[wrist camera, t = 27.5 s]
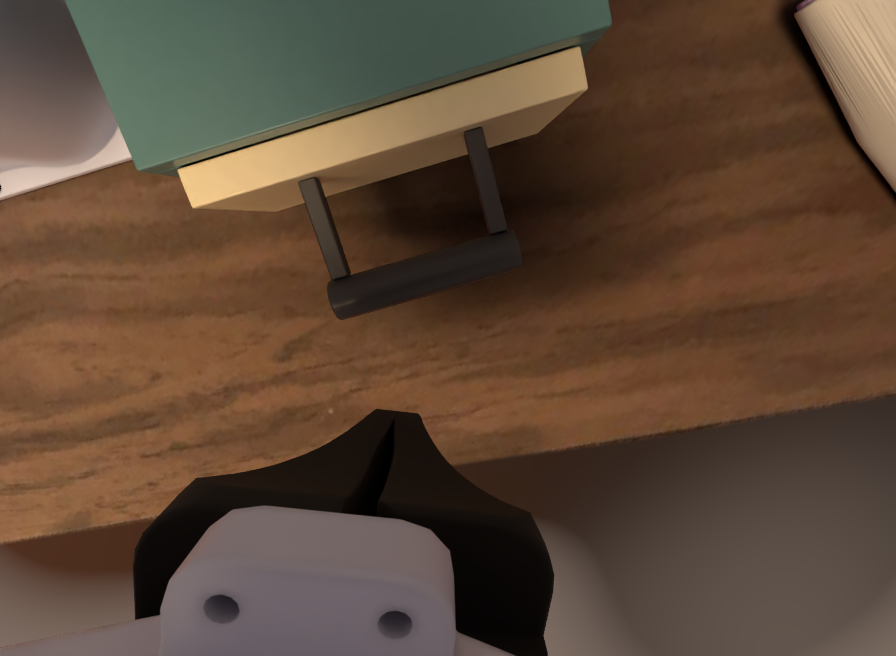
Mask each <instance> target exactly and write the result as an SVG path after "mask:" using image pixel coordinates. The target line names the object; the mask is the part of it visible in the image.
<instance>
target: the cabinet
mask: <svg viewBox="0 0 896 656" xmlns="http://www.w3.org/2000/svg"><path fill="white" fill-rule="evenodd" d="M65 2H66V4H67V7H68V9H69V11H70V14H71V16H72V18H73V21H74V23H75V25H76V28H77V30H78V32H79V35H80V37H81V40H82V42H83V44H84V47H85V49H86V51H87V54H88V56H89V58H90V61H91V63H92V65H93V68H94V70H95V72H96V75H97V77H98V79H99V82H100V84H101V86H102V89H103V91H104V93H105V96H106V98H107V100H108V103H109V105H110V107H111V110H112V112H113V115H114V117H115V119H116V122H117V124H118V126H119V129H120V131H121V133H122V136H123V138H124V140H125V143H126V145H127V147H128V150H129V152H130V154H131V157H132V159H133V161H134V164H135V166H136V168H137V170H138V171H141V172H148V173H154V174H162V175H168V176H175V177H180V176H179V174H178V169H180V168H183V167H186V166H189V165H193V164H196V163H199V162H202V161H206V160H209V159H212V158H215V157H219V156H222V155H225V154H228V153H232V152H235V151H238V150H241V149H245V148H248V147H251V146H254V145H252V144H253V143H256V142H260V141H263V140H266V139H269V138H273V137H276V136H279V135H282V134H286V133H289V132H292V131H295V130H299V129H302V128H305V127H308V126H312V125H315V124H318V123H321V122H325V121H328V120H331V119H334V118H338V117H341V116H344V115H347V114H351V113H354V112H357V111H360V110H364V109H367V108H370V107H373V106H377V105H380V104H383V103H386V102H390V101H393V100H396V99H399V98H403V97H406V96H409V95H412V94H416V93H419V92H422V91H425V90H429V89H432V88H435V87H438V86H442V85H445V84H448V83H451V82H455V81H458V80H461V79H464V78H468V77H471V76H474V75H477V74H481V73H484V72H487V71H490V70H494V69H497V68H500V67H503V66H507V65H510V64H513V63H516V62H517V63H516V65H518V64H521V63H524V62H528V61H531V60H534V59H537V58H541V57H544V56H547V55H550V54H554V53H557V52H560V51H563V50H567V49H570V48H573V47H576V46H580V48H581V53H582V58H583V57H584V56H585V55H586V53H587V52H588V51H589V50H590V49H591V48H592V47H593V45H594V44H595V43H596V42H597V41H598V40H599V39H600V37H601V36H602V35H603V34H604V33H605V32H606V31H607V30H608V29H609V28H610V26H611V25H612V20H611V14H610V8H609V2H608V0H65Z"/></svg>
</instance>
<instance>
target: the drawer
mask: <svg viewBox="0 0 896 656" xmlns="http://www.w3.org/2000/svg"><path fill="white" fill-rule="evenodd" d="M516 63H517V62H516ZM516 63H513V64H510V65H507V66H503V67H500V68H497V69H494V70H490V71H487V72H484V73H481V74H477V75H474V76H471V77H468V78H464V79H461V80H458V81H455V82H451V83H448V84H445V85H442V86H438V87H435V88H432V89H429V90H425V91H422V92H419V93H416V94H412V95H409V96H406V97H403V98H399V99H396V100H393V101H390V102H386V103H383V104H380V105H377V106H373V107H370V108H367V109H364V110H360V111H357V112H354V113H351V114H347V115H344V116H341V117H338V118H334V119H331V120H328V121H325V122H321V123H318V124H315V125H312V126H308V127H305V128H302V129H299V130H295V131H292V132H289V133H286V134H282V135H279V136H276V137H273V138H269V139H266V140H263V141H260V142H256V143H253V144H252V145H254V146H251V147H248V148H245V149H241V150H238V151H235V152H232V153H228V154H225V155H222V156H219V157H215V158H212V159H209V160H206V161H202V162H199V163H196V164H193V165H189V166H186V167H183V168H180V169H178V174H179V176H180V179H181V181H182V184H183V186H184V189H185V191H186V194H187V196H188V198H189V201H190V203H191V206H192V207H193V208H200V209H224V210H248V211H272V212H276V211H279V210H283V209H286V208H289V207H293V206H296V205H299V204H303V203H305V205H306V208H307V211H308V214H309V216H310V219H311V222H312V225H313V228H314V231H315V234H316V237H317V239H318V242H319V245H320V248H321V251H322V254H323V257H324V260H325V262H326V265H327V268H328V271H329V274H330V277H331V279H332V281H330V282H328V284H327V292H328V298H329V302H330V305H331V307H332V310H333V312H334V313H335V315H336V316H337V318H338V319H340V320H344V319H348V318H351V317H355V316H358V315H362V314H366V313H369V312H373V311H376V310H380V309H383V308H387V307H390V306H394V305H397V304H401V303H404V302H408V301H411V300H415V299H418V298H422V297H426V296H429V295H433V294H436V293H440V292H443V291H447V290H450V289H454V288H457V287H461V286H464V285H468V284H471V283H475V282H478V281H482V280H486V279H489V278H493V277H496V276H500V275H503V274H507V273H510V272H514V271H517V270H521V269H522V268H523V259H522V253H521V249H520V245H519V242H518V239H517V236H516V234H515V232H514V231H513V229H509V230H507V225H506V221H505V216H504V212H503V208H502V204H501V200H500V196H499V192H498V188H497V184H496V180H495V176H494V172H493V168H492V164H491V159H490V155H489V151H488V148H490V147H494V146H497V145H500V144H504V143H507V142H510V141H514V140H517V139H520V138H524V137H527V136H530V135H534V134H537V133H538V132H540V131H541V130H542V129H543V128H544V127H545V126H546V125H547V124H549V123H550V122H551V121H552V120H553V119H554V118H555V117H556V116H558V115H559V114H560V113H561V112H562V111H563V110H564V109H565V108H567V107H568V106H569V105H570V104H571V103H572V102H573V101H575V100H576V99H577V98H578V97H579V96H580V95H581V94H582V93H584V92H585V91H586V90H587V89H588V85H587V79H586V74H585V69H584V63H583V58H582V53H581V48H580V46H576V47H573V48H570V49H567V50H563V51H560V52H557V53H554V54H550V55H547V56H544V57H541V58H537V59H534V60H531V61H528V62H524V63H521V64H518V65H516ZM467 154H468V156H469V159H470V163H471V167H472V171H473V175H474V179H475V183H476V187H477V191H478V195H479V198H480V202H481V206H482V210H483V214H484V218H485V222H486V226H487V230H488V233H489V234H491V235H488V236H484V237H481V238H477V239H474V240H470V241H467V242H463V243H460V244H457V245H453V246H450V247H446V248H443V249H439V250H436V251H432V252H429V253H425V254H422V255H418V256H415V257H411V258H408V259H405V260H401V261H398V262H394V263H391V264H387V265H384V266H380V267H377V268H373V269H370V270H366V271H363V272H359V273H356V274H353V275H350V274H351V271H350V268H349V265H348V263H347V260H346V257H345V254H344V251H343V248H342V245H341V242H340V239H339V236H338V233H337V230H336V227H335V224H334V221H333V218H332V215H331V212H330V209H329V206H328V203H327V200H326V196H330V195H333V194H336V193H340V192H343V191H346V190H350V189H353V188H356V187H360V186H363V185H366V184H370V183H373V182H376V181H380V180H383V179H387V178H390V177H393V176H397V175H400V174H403V173H407V172H410V171H413V170H417V169H420V168H423V167H427V166H430V165H433V164H437V163H440V162H443V161H447V160H450V159H453V158H457V157H460V156H464V155H467Z"/></svg>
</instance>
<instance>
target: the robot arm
mask: <svg viewBox="0 0 896 656" xmlns="http://www.w3.org/2000/svg"><path fill="white" fill-rule="evenodd" d="M130 160H133V159H132V157H131V154H130V152H129V150H128V147H127V145H126V143H125V140H124V138H123V136H122V133H121V131H120V129H119V126H118V124H117V122H116V119H115V117H114V115H113V112H112V110H111V107H110V105H109V103H108V100H107V98H106V96H105V93H104V91H103V89H102V86H101V84H100V82H99V79H98V77H97V75H96V72H95V70H94V68H93V65H92V63H91V61H90V58H89V56H88V54H87V51H86V49H85V47H84V44H83V42H82V40H81V37H80V35H79V32H78V30H77V28H76V25H75V23H74V21H73V18H72V16H71V14H70V11H69V9H68V7H67V4H66V2H65V0H0V185H1V188H2V189H1V191H0V201H1V200H4V199H7V198H11V197H14V196H17V195H20V194H24V193H27V192H30V191H33V190H36V189H40V188H43V187H46V186H49V185H53V184H56V183H59V182H62V181H65V180H69V179H72V178H75V177H78V176H82V175H85V174H88V173H91V172H94V171H98V170H101V169H104V168H107V167H111V166H114V165H117V164H120V163H123V162H127V161H130ZM133 577H134V599H135V620H133V621H128V622H123V623H119V624H113V625H108V626H103V627H98V628H93V629H88V630H83V631H79V632H74V633H69V634H64V635H59V636H54V637H49V638H44V639H40V640H34V641H30V642H25V643H20V644H15V645H10V646H5V647H0V656H548V653H547V649H546V645H545V640H544V636H543V635H544V631H545V626H546V621H547V617H548V612H549V608H550V603H551V599H552V594H553V584H554V572H553V569H552V564H551V560H550V556H549V553H548V550H547V548H546V545H545V542H544V540H543V538H542V536H541V534H540V531H539V529H538V527H537V525H536V524H535V522H534V520H533V518H532V515H531V513H530V512H527V511H525V510H523V509H520V508H518V507H515V506H512V505H510V504H508V503H505V502H503V501H501V500H499V499H497V498H495V497H493V496H492V495H490V494H488V493H486V492H484V491H483V490H481V489H480V488H478V487H477V486H475V485H474V484H473V483H471V482H470V481H469V480H467V479H466V478H464V477H463V476H462V475H461V474H460V473H459V472H457V471H456V470H455V469H454V468H453V467H452V466H451V465H450V464H449V463H448V462H447V461H446V459H445V458H444V457H443V456H442V454H441V453H440V452H439V450H438V449H437V447H436V446H435V444H434V443H433V441H432V439H431V438H430V436H429V434H428V432H427V431H426V428H425V426H424V424H423V422H422V418H421V417H420V415H419V414H417V413H409V412H400V411H391V410H382V409H376V410H374V411H373V412H371V413H370V414H369V415H368V416H366V417H365V418H364V419H363V420H361V421H360V422H359V423H358V424H356V425H355V426H353V427H352V428H351V429H349V430H348V431H347V432H345V433H344V434H342V435H340V436H339V437H337V438H336V439H334V440H332V441H331V442H329V443H327V444H325V445H324V446H322V447H320V448H318V449H315V450H313V451H311V452H309V453H307V454H304V455H302V456H299V457H296V458H293V459H291V460H288V461H285V462H282V463H279V464H276V465H272V466H268V467H264V468H260V469H256V470H251V471H246V472H241V473H235V474H228V475H220V476H211V477H202V478H196V479H195V480H194V481H193V482H191V483H190V484H189V485H188V486H187V487H186V488H185V489H184V490H183V491H182V492H181V493H180V494H179V495H178V496H177V497H176V498H175V499H174V500H173V501H172V502H171V504H170V505H169V506H168V507H167V508H166V509H165V510H164V511H163V512H162V513H161V514H160V515H159V516H158V517H157V519H156V520H155V521H154V522H153V523H152V524H151V525H150V526H149V527H148V528H147V529H146V530H145V531H144V532H143V534H142V536H141V538H140V540H139V542H138V545H137V546H136V549H135V554H134V563H133Z"/></svg>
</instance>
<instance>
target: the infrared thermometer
mask: <svg viewBox="0 0 896 656" xmlns="http://www.w3.org/2000/svg"><path fill="white" fill-rule="evenodd" d="M794 16H795V18H796V20H797V22H798V24H799V26H800V28H801V30H802V32H803V34H804V36H805V38H806V40H807V42H808V44H809V46H810V48H811V50H812V52H813V54H814V56H815V58H816V60H817V62H818V64H819V66H820V68H821V70H822V72H823V74H824V76H825V78H826V80H827V82H828V84H829V86H830V88H831V90H832V92H833V94H834V96H835V98H836V100H837V102H838V104H839V106H840V108H841V110H842V112H843V114H844V116H845V118H846V120H847V122H848V124H849V126H850V128H851V130H852V132H853V134H854V136H855V139H856V141H857V143H858V144H859V145H860V147H861V148H862V149H863V150H864V152H865V153H866V154H867V156H868V157H869V158H870V160H871V161H872V162H873V163H874V165H875V166H876V167H877V169H878V170H879V171H880V173H881V174H882V175H883V177H884V178H885V179H886V181H887V182H888V183H889V184H890V186H891V187H892V188H893V190H894V191H895V192H896V0H804V1H803V2H801V3H800V4H798V5H797V12H796V13H795V14H794Z"/></svg>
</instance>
